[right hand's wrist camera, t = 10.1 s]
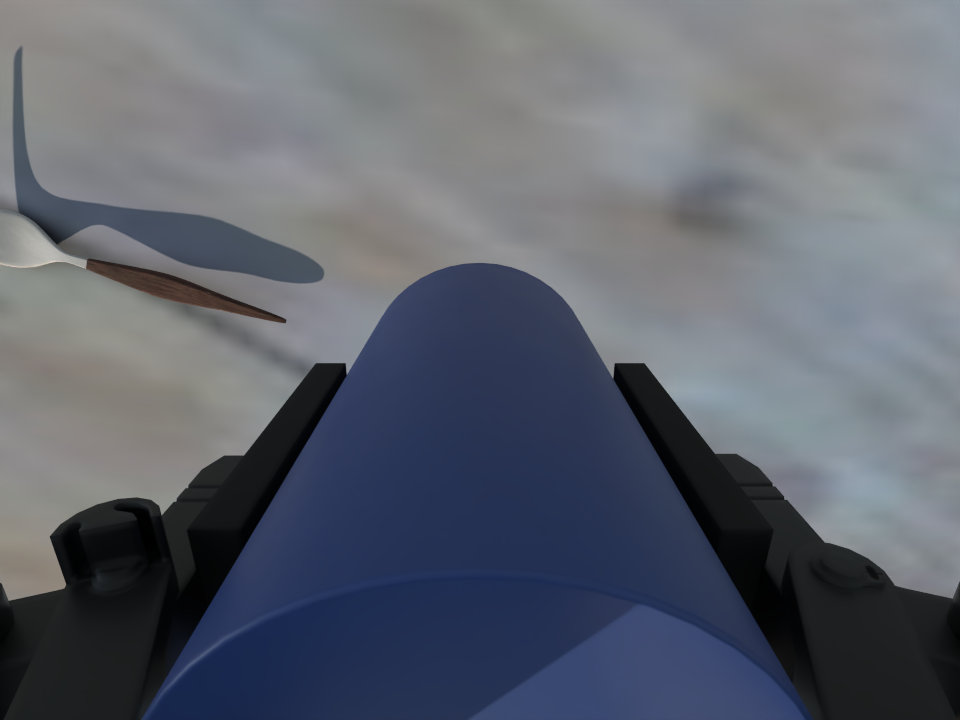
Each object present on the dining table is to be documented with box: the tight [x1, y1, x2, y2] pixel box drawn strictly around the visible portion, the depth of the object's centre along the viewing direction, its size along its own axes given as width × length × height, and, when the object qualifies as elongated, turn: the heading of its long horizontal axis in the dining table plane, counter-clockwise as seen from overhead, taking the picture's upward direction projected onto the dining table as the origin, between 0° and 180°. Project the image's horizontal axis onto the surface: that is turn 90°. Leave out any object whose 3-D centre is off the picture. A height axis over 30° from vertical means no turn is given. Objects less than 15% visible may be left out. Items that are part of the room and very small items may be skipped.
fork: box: [0, 208, 286, 323], centre depth 24 cm, size 3×16×2 cm, turn 73°
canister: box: [141, 263, 814, 720], centre depth 11 cm, size 7×7×12 cm
